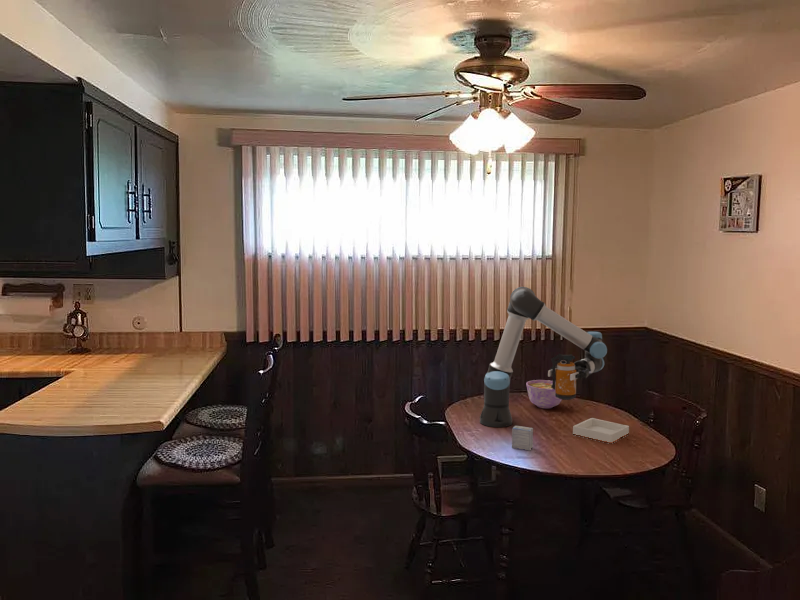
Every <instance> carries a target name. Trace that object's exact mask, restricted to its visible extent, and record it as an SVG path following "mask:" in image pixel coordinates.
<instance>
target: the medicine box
mask: <svg viewBox="0 0 800 600" xmlns="http://www.w3.org/2000/svg"><path fill="white" fill-rule="evenodd" d="M511 431H512V432H511V434H512V435H511V448H512V449H517V448H519V449H518V450H523V449H525V451H531V450H532V449H531V448H533V447H534V445H533V444H534V443H533V441H534V439H533V438H534V437H533V436H534V428H533V427H527V426H521V425H514V426H513V427H512V430H511Z"/></svg>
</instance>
